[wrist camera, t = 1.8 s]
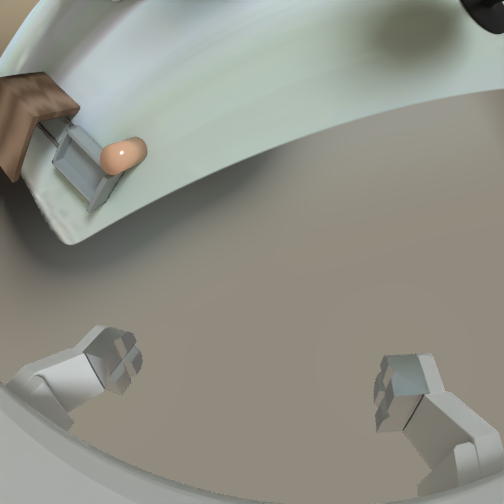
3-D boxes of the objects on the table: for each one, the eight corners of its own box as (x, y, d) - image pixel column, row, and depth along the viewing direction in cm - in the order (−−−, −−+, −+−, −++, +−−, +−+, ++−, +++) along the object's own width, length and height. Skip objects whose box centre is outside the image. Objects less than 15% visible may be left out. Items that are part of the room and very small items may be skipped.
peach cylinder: (119, 152, 36) (95, 162, 31) (133, 131, 34) (109, 138, 29) (137, 169, 37) (114, 181, 32) (152, 148, 35) (129, 158, 30)
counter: (21, 125, 35) (-18, 139, 26) (43, 71, 29) (0, 77, 21) (100, 211, 42) (62, 240, 33) (134, 157, 36) (90, 178, 27)
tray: (62, 158, 37) (44, 165, 33) (77, 124, 34) (58, 130, 30) (105, 202, 40) (89, 213, 36) (124, 170, 37) (107, 179, 33)
